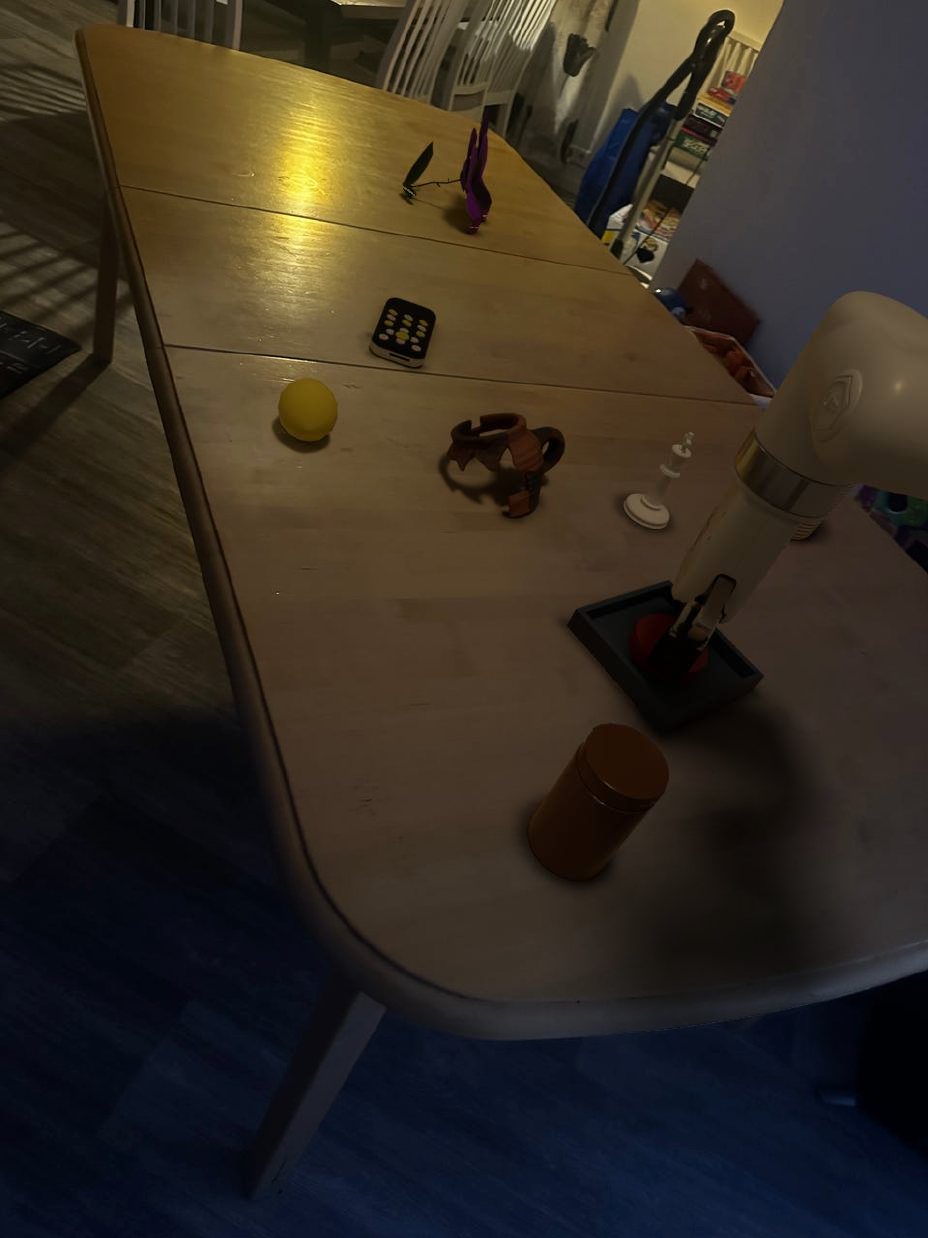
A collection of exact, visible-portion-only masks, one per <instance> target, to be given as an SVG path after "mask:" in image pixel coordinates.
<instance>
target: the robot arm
mask: <svg viewBox="0 0 928 1238" xmlns="http://www.w3.org/2000/svg"><path fill="white" fill-rule="evenodd" d="M729 471H730V472H729V473H730V475H731V478H732V480H733V481H732V482H731V483H730V485H729V486H728V488H727V490H726V491H725V492H724V494H723V495H722V496H721V498H720V500H719V501H718V503H717V504H716V505H715V507H714V509H713V510H712V511H711V513H710V515H709V516H708V517H707V519H706V520H705V521H704V523H703V525H702V526H701V527H700V528H699V530H698V531H697V533H696V534H695V536H694V537H693V539H692V540H691V542H690V544H689V546H688V547H687V550H686V553H685V555H684V557H683V559H682V561H681V564H680V567H679V569H678V571H677V574H676V576H675V579H674V580H673V586H672V590H671V591H672V599H673V600H674V601H676V602H677V603H679V604H681V605H683V608H682V610H681V612H680V613H679V615H678V617H677V619H676V621H675V622H674V624H673V626H672V627H670V626H667V628H666V629H665V631H664V632H663V634H662V635H661V637H660V638H659V640H658V641H657V643H656V644H655V646H654V647H653V649H652V650H651V652H650V653H649V654H648V656H647V658H646V661H645V663H646V665H648V666H649V667H651V668H653V669H655V670H656V671H658V672H660V673H662V674H664V675H665V676H667V677H669V678H671V679H673V680H674V681H677V682H680V681H682V679H683V678H684V677H685V675H686V674H687V673H688V671H689V670H690V669H691V667H692V666H693V664H694V663H695V662H696V660H697V659H698V658H699V656H700V655H701V654H702V652H703V651H704V649H705V646H706V644H707V643H708V641H709V639H710V637H711V636H712V634H713V632H714V630H715V629H716V627H717V626H718V625H722V624H728V623H730V622H731V621H732V620H733V619H734V617H735V616H736V615H737V614H738V612H740V610H741V609H742V608H743V606H744V605H745V604H746V603H747V601H748V600H749V598H750V597H751V596H752V595H753V594H754V592H755V591H756V589H757V587H759V585H760V584H761V582H762V581H763V579H764V578H765V577H766V575H767V574H768V572H769V571H770V569H771V568H772V566H774V564H775V563H776V560H778V558H779V557H780V555H781V554H782V552H783V551H784V550H785V549H786V548H787V545H788V544H789V543H790V541H791V540H792V539H791V538H792V536H793V535H794V533H795V532H796V530H797V529H798V528H799V526H800V525H801V523H805V524H812V523H817V522H820V521H821V520H823V519H824V517H825V516H826V515H827V513H828V512H829V511H830V509H831V508H832V507H833V505H834V504H835V503H836V501H837V500H838V499H839V497H840V496H841V495H842V493H843V492H844V491H845V489H846V488H847V487H848V485H849V484H850V483H851V482H855V483H857V484H860V485H864V486H867V487H870V488H874V489H878V490H881V491H885V492H888V493H892V494H896V495H905V496H909V497H912V498H915V499H919V500H923V501H927V502H928V318H926V317H925V316H924V315H922V314H921V313H920V312H918V311H916V310H915V309H913V308H912V307H909V306H908V305H906V304H904V303H903V302H900V301H898V300H896V299H893V298H891V297H889V296H886V295H884V294H880V293H876V292H872V291H866V290H857V291H851V292H848V293H845V294H844V295H842V296H840V297H839V298H837V300H835V301H834V302H833V304H831V305H830V307H829V308H828V310H827V311H826V313H825V314H824V316H823V317H822V319H821V320H820V322H819V324H818V325H817V326H816V328H815V330H814V332H813V333H812V335H811V336H810V338H809V339H808V341H807V343H806V344H805V346H804V348H803V349H802V351H801V352H800V354H799V356H798V357H797V359H796V360H795V362H794V363H793V365H792V366H791V368H790V370H788V373H787V375H786V376H785V378H784V379H783V381H782V382H781V383H780V385H779V387H778V388H777V390H776V392H775V393H774V395H773V397H772V398H771V400H770V401H769V403H768V404H767V406H766V408H765V409H764V411H763V413H762V414H761V416H760V417H759V419H758V420H757V422H756V423H755V425H754V427H752V430H751V431H750V433H749V434H748V436H747V437H746V439H745V440H744V442H743V444H742V445H741V447H740V449H739V450H738V452H737V453H736V455H735V456H734V458H733V459H732V461H731V463H730V465H729ZM827 516H828V515H827ZM824 520H825V519H824ZM824 520H823V521H824ZM691 610H692V611H694V612H696V613H698V615H697V616H696V618H695V619H694V620H693V622H692V624H691V623H689V622H687V623H685V624H684V622H685V620H686V618H687V617H688V615H689V613H690V611H691ZM717 628H718V627H717Z"/></svg>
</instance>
